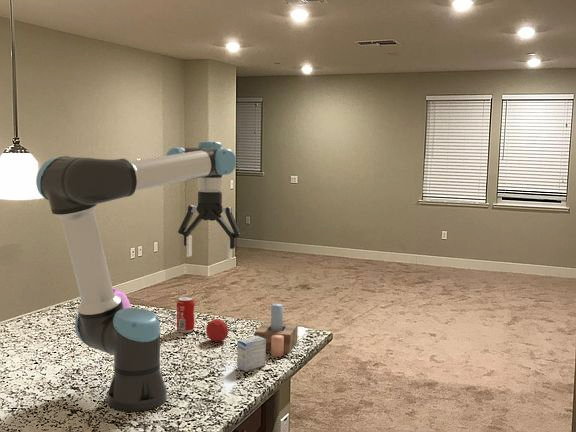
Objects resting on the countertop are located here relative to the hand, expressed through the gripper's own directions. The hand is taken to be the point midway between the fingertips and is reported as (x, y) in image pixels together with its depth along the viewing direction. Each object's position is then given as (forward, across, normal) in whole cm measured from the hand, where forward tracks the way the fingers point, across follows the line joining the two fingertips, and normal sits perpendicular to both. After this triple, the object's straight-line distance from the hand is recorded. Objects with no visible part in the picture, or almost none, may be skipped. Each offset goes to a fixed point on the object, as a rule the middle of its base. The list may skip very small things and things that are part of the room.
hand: (209, 257), depth 199 cm
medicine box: (+32, -17, +8) cm, 37 cm away
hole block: (+31, -19, -14) cm, 39 cm away
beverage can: (+32, +16, -21) cm, 41 cm away
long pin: (+31, -19, -14) cm, 39 cm away
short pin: (+31, -22, -5) cm, 39 cm away
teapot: (+32, +51, -33) cm, 69 cm away
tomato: (+32, +1, -13) cm, 34 cm away
